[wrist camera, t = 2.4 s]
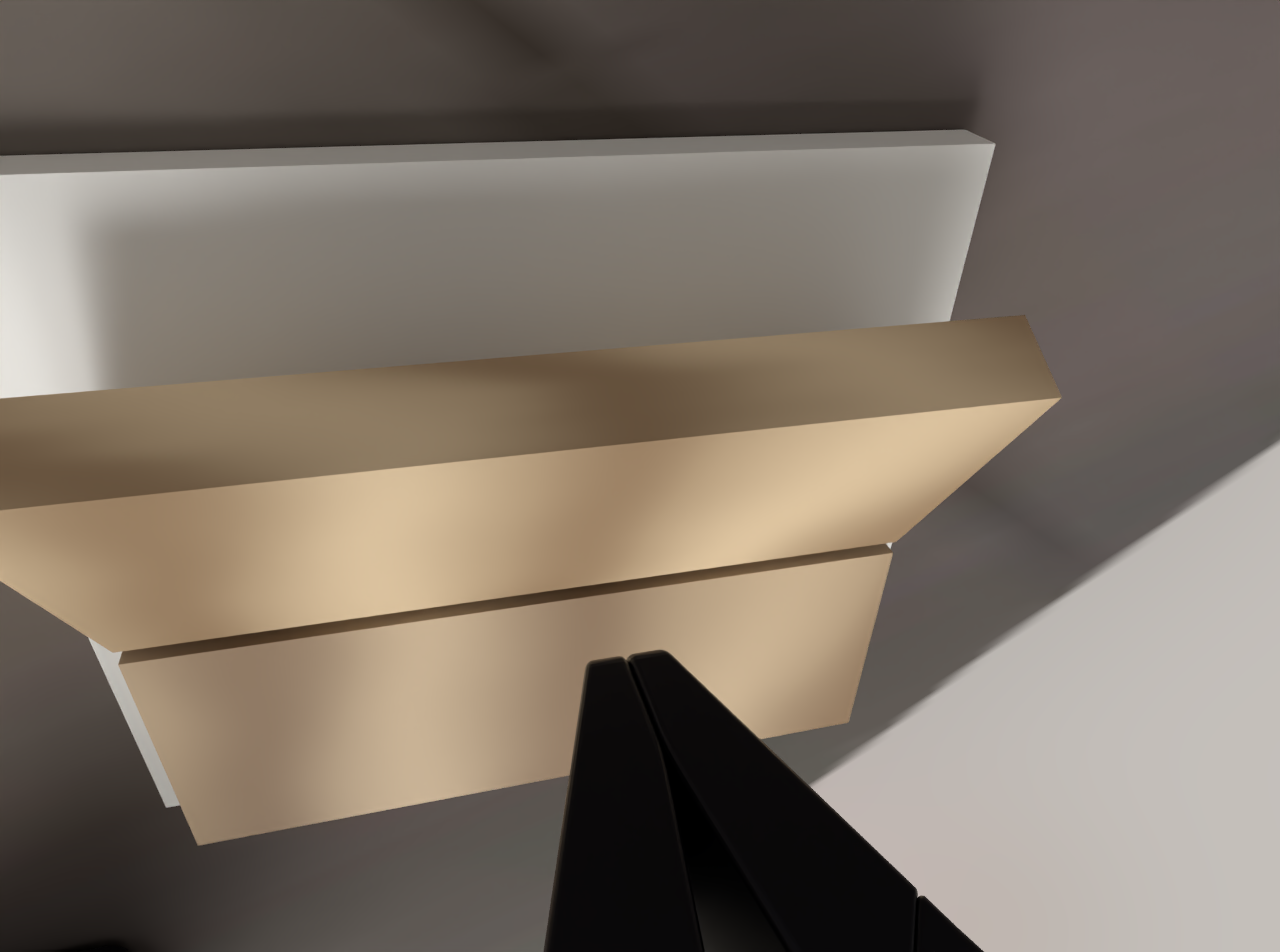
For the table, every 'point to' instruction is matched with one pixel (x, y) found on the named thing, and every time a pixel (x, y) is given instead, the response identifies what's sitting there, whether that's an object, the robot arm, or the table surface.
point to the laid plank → (485, 686)
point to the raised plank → (492, 474)
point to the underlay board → (462, 257)
